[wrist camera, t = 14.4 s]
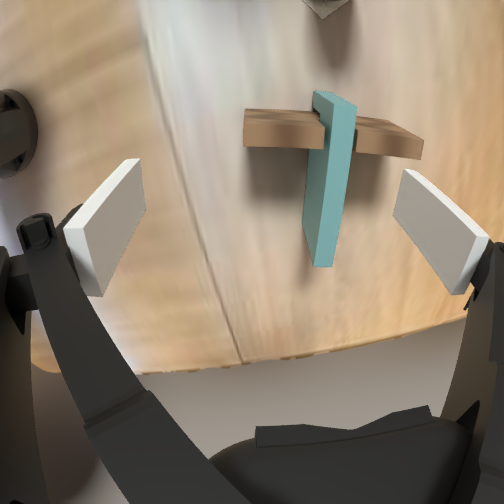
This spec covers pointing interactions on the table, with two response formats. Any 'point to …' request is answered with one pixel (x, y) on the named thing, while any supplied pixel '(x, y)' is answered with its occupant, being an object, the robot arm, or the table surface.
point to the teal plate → (328, 177)
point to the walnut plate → (312, 132)
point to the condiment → (324, 6)
